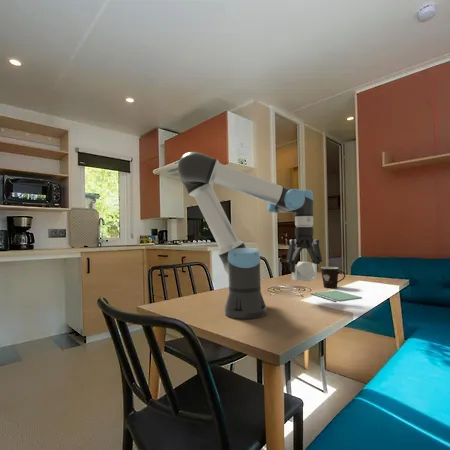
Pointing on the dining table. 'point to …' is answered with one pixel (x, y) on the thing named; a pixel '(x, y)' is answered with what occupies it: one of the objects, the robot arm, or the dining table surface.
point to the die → (305, 271)
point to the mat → (338, 295)
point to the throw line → (323, 297)
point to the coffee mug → (330, 276)
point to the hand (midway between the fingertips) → (304, 279)
